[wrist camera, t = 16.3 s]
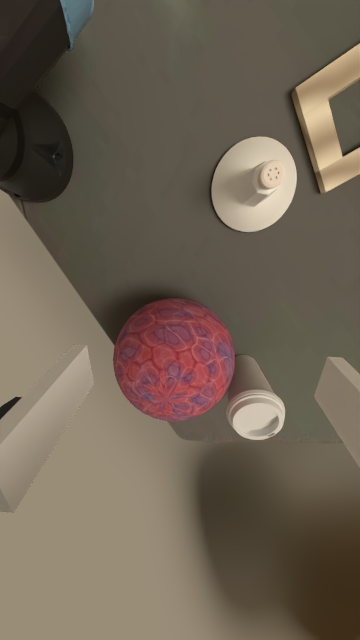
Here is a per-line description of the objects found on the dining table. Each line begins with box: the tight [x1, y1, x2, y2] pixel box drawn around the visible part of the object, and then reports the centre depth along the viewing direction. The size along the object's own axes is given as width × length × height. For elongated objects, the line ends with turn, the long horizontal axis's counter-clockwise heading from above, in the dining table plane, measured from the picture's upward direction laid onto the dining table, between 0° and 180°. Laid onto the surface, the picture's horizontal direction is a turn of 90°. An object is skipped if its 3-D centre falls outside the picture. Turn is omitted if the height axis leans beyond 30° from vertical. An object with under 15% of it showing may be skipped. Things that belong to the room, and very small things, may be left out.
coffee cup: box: [226, 355, 285, 440], centre depth 42 cm, size 10×10×15 cm
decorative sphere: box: [113, 298, 235, 421], centre depth 38 cm, size 20×20×20 cm
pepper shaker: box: [236, 159, 286, 207], centre depth 30 cm, size 5×5×11 cm
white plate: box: [211, 137, 297, 232], centre depth 36 cm, size 13×13×1 cm
